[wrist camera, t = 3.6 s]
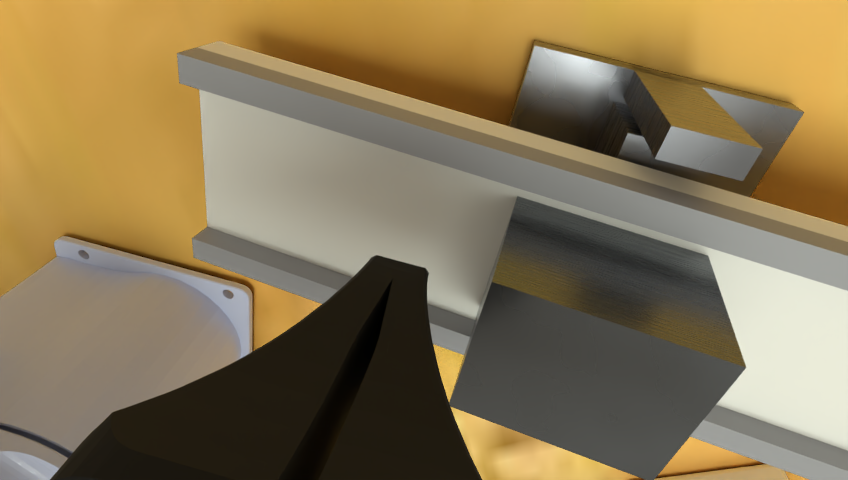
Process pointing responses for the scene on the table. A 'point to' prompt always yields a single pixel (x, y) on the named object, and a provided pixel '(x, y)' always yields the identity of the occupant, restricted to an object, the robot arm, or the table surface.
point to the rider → (597, 340)
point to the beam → (487, 221)
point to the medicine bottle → (736, 474)
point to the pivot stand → (652, 117)
